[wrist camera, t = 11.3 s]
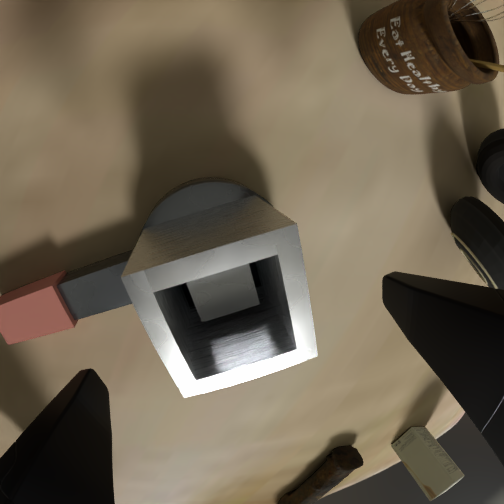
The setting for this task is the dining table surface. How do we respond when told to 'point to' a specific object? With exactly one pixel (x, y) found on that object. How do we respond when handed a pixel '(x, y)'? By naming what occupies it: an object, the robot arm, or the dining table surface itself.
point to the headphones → (484, 216)
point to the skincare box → (427, 461)
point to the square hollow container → (232, 325)
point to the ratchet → (110, 271)
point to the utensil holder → (429, 46)
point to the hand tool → (326, 476)
